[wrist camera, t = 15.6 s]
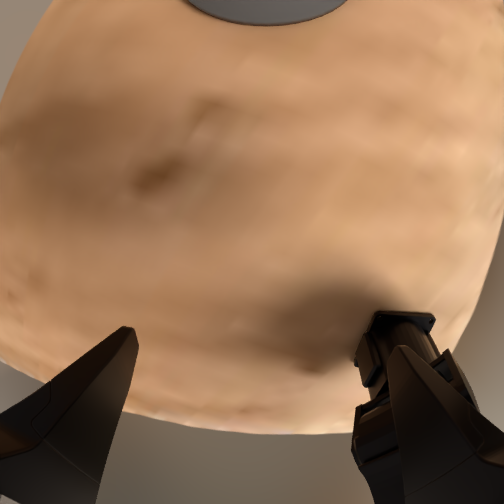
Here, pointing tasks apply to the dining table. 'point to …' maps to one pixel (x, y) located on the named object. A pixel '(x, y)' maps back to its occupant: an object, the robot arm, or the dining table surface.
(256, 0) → the mat
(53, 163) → the dining table surface
